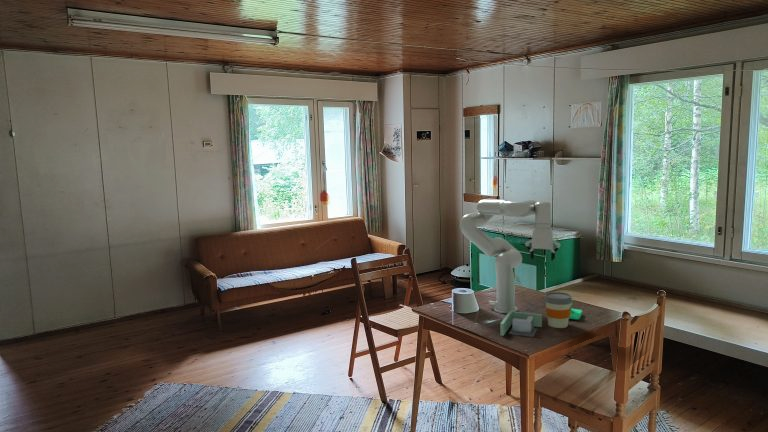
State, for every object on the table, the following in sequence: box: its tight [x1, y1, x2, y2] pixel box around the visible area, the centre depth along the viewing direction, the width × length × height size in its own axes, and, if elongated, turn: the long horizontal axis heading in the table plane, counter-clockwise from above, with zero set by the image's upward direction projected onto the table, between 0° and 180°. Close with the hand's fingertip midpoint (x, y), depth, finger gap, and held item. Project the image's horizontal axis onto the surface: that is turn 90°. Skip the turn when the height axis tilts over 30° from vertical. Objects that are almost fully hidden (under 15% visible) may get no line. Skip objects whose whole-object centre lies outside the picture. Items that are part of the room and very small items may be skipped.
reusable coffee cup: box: [544, 291, 573, 329], centre depth 259 cm, size 13×12×15 cm
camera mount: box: [569, 302, 583, 320], centre depth 271 cm, size 12×8×10 cm, turn 149°
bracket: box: [511, 316, 535, 334], centre depth 253 cm, size 8×8×6 cm
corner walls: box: [499, 311, 543, 337], centre depth 253 cm, size 16×20×6 cm
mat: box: [508, 328, 538, 338], centre depth 253 cm, size 12×11×1 cm
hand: (542, 259), depth 268 cm, fingers open, 9 cm apart
